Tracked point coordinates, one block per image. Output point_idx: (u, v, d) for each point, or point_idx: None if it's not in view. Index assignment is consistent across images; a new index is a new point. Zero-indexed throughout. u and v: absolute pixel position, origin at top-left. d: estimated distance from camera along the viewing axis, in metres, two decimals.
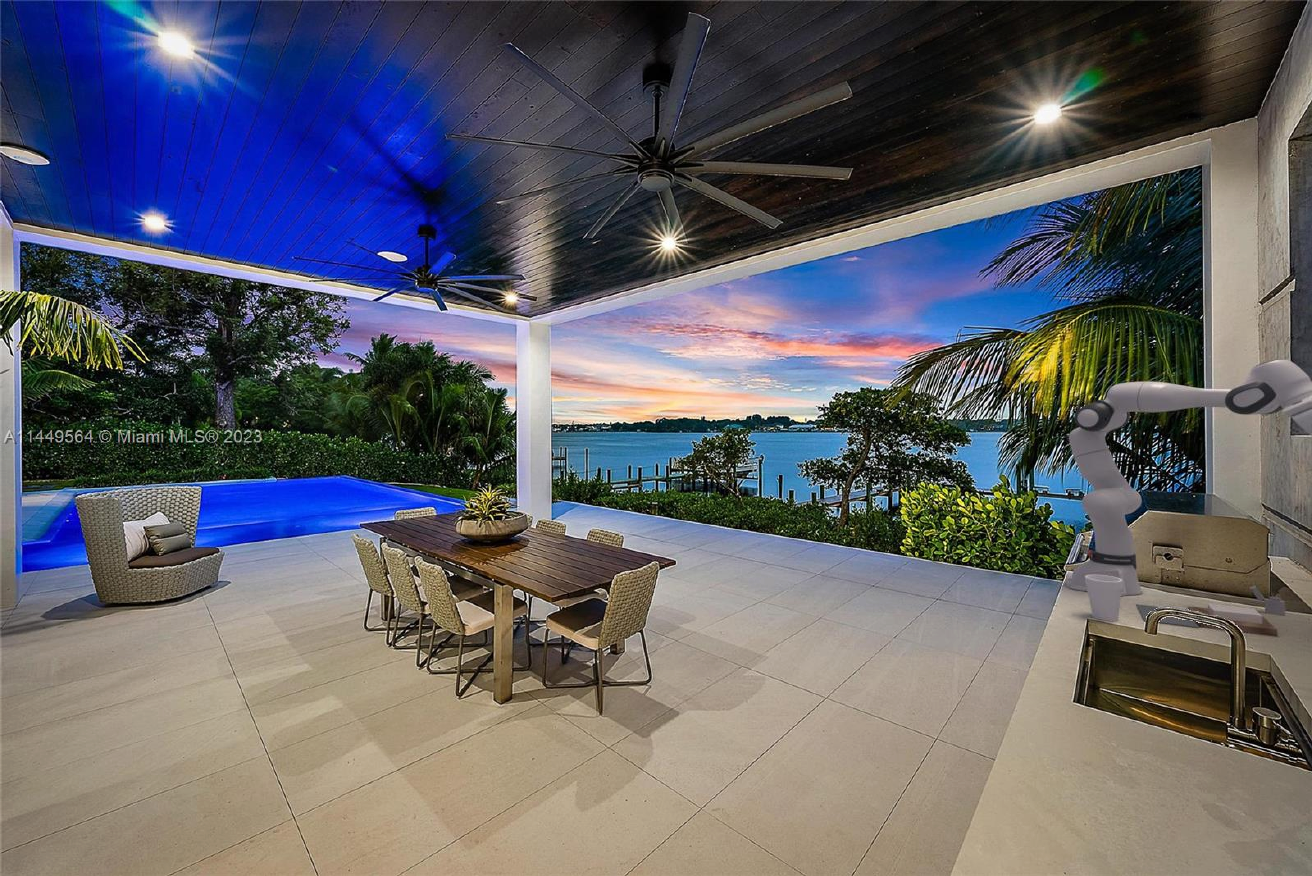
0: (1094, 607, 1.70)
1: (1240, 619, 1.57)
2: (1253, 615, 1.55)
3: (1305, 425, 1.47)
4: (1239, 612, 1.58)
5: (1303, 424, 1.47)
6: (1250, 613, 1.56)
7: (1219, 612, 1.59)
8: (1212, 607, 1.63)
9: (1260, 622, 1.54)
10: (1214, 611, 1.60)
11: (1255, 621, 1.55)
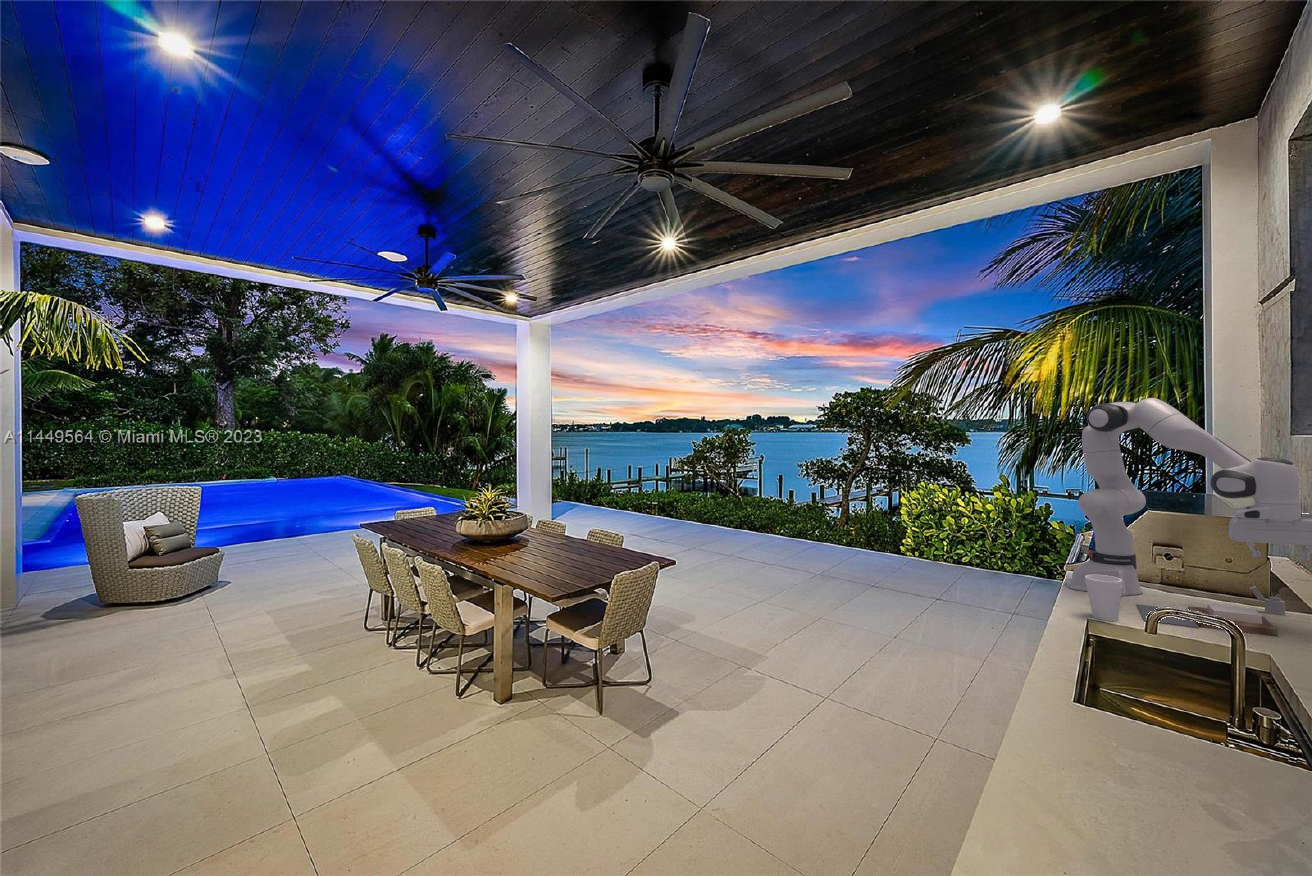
0: (1094, 607, 1.70)
1: (1240, 619, 1.57)
2: (1253, 615, 1.55)
3: (1229, 528, 1.61)
4: (1239, 612, 1.58)
5: (1229, 527, 1.61)
6: (1250, 613, 1.56)
7: (1219, 612, 1.59)
8: (1212, 607, 1.63)
9: (1260, 622, 1.54)
10: (1214, 611, 1.60)
11: (1255, 621, 1.55)
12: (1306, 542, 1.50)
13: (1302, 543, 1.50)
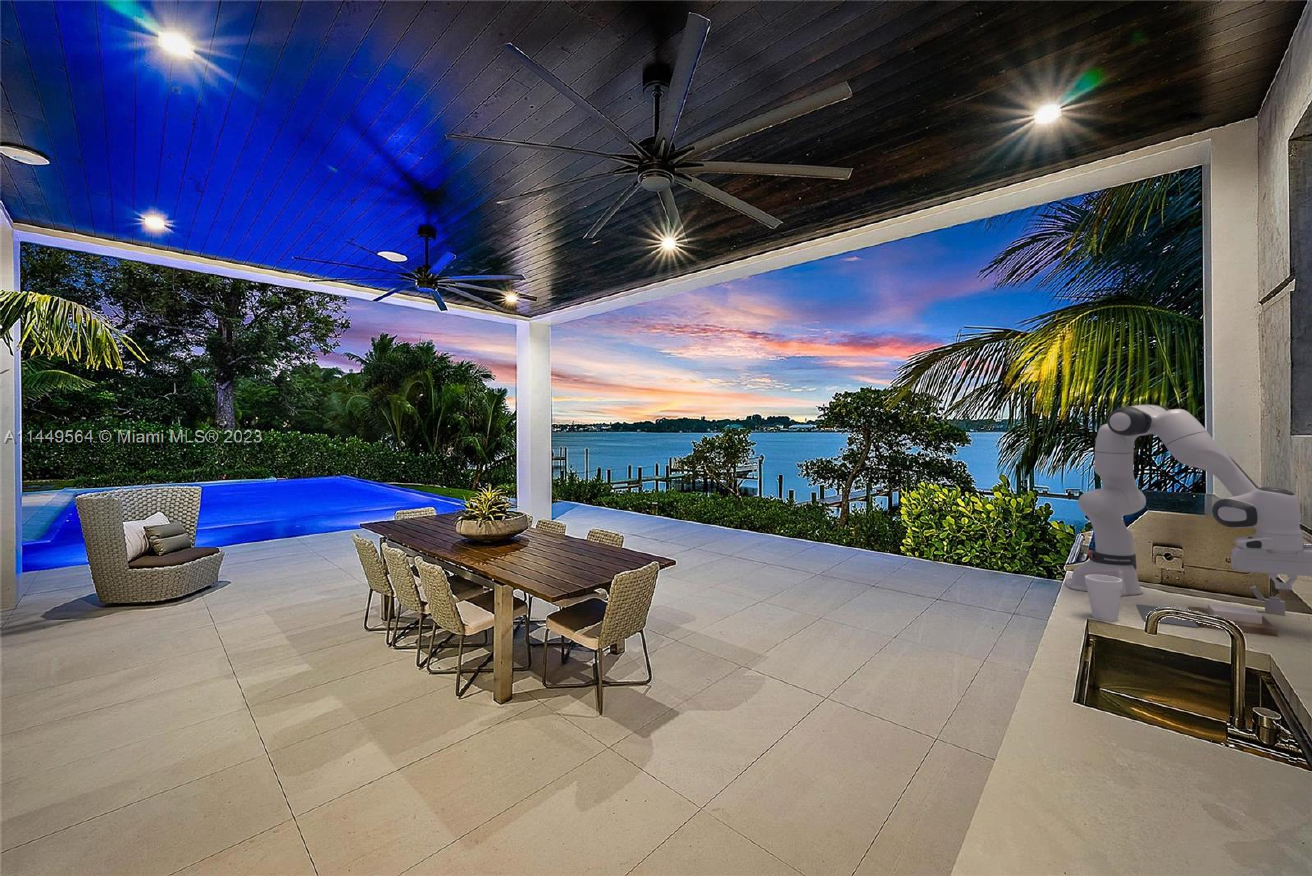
0: (1094, 607, 1.70)
1: (1240, 619, 1.57)
2: (1253, 615, 1.55)
3: (1231, 558, 1.61)
4: (1239, 612, 1.58)
5: (1231, 556, 1.61)
6: (1250, 613, 1.56)
7: (1219, 612, 1.59)
8: (1212, 607, 1.63)
9: (1260, 622, 1.54)
10: (1214, 611, 1.60)
11: (1255, 621, 1.55)
12: (1309, 573, 1.49)
13: (1305, 574, 1.50)
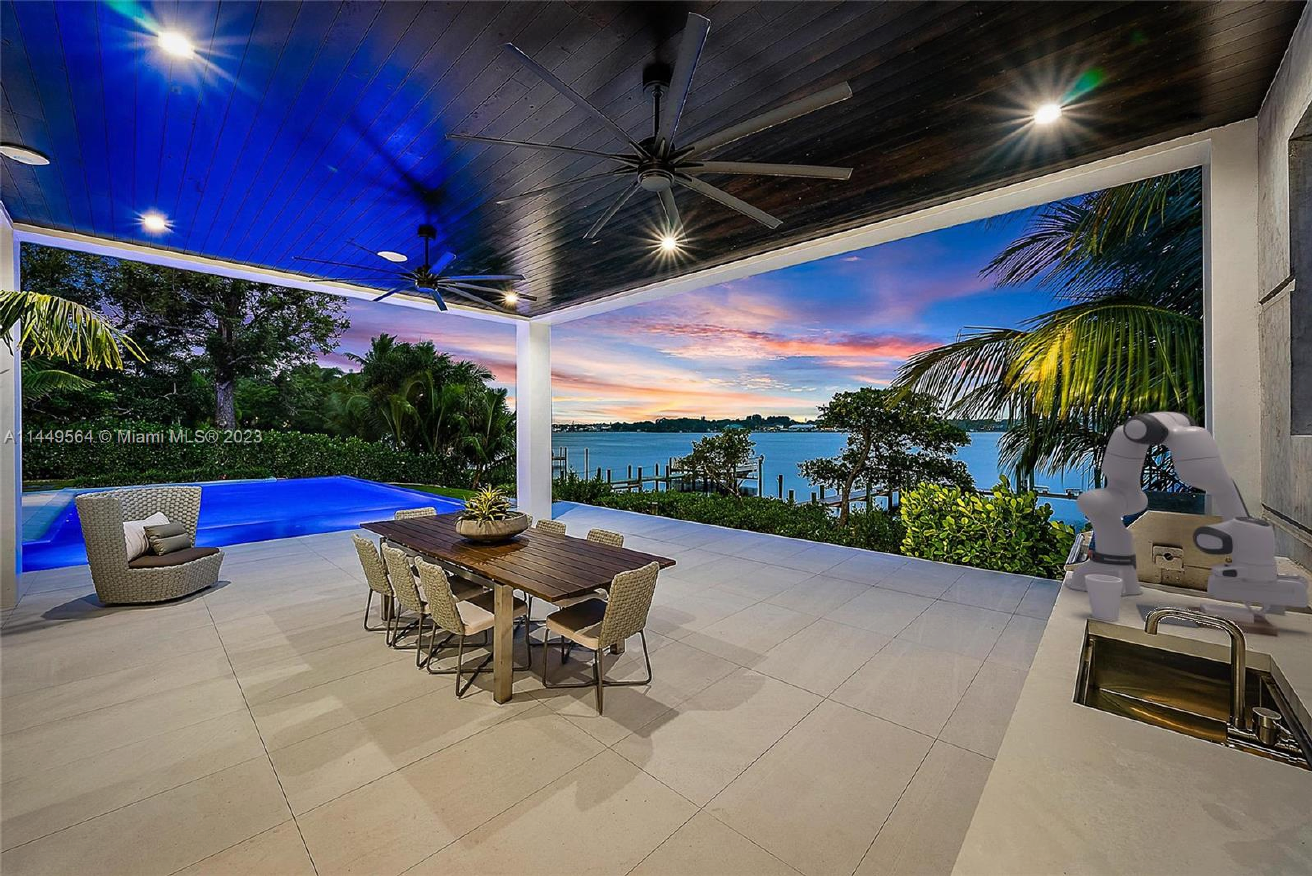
0: (1094, 607, 1.70)
1: (1232, 618, 1.58)
2: (1245, 614, 1.56)
3: (1208, 584, 1.64)
4: (1231, 611, 1.59)
5: (1208, 583, 1.64)
6: (1242, 612, 1.57)
7: (1211, 611, 1.60)
8: (1204, 606, 1.64)
9: (1252, 621, 1.55)
10: (1206, 610, 1.61)
11: (1247, 620, 1.56)
12: (1282, 602, 1.53)
13: (1278, 603, 1.53)
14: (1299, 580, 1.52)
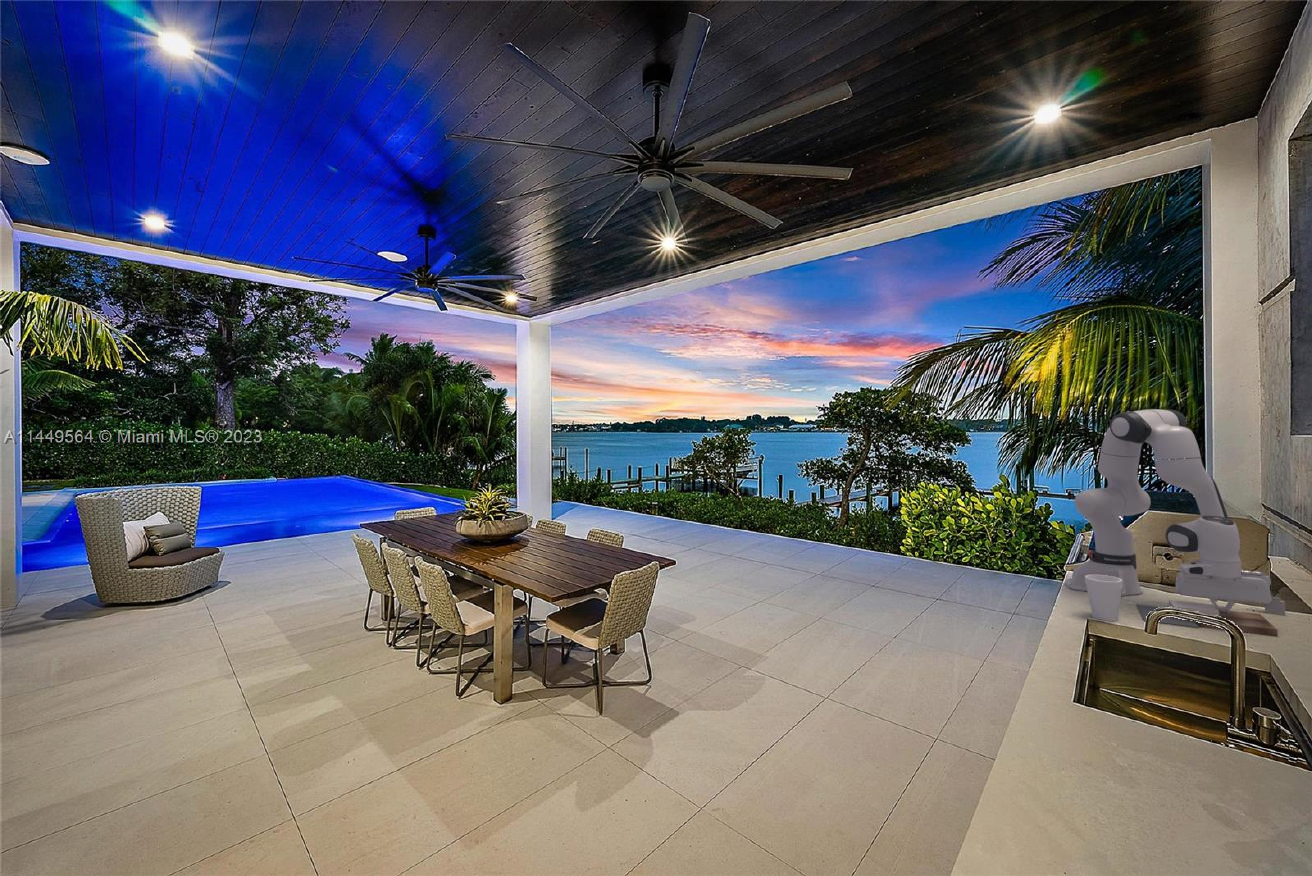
0: (1094, 607, 1.70)
1: None
2: (1211, 610, 1.61)
3: (1176, 582, 1.68)
4: (1198, 608, 1.63)
5: (1176, 580, 1.68)
6: (1208, 608, 1.62)
7: None
8: (1173, 603, 1.68)
9: None
10: None
11: None
12: (1245, 599, 1.57)
13: (1242, 600, 1.58)
14: (1262, 577, 1.56)
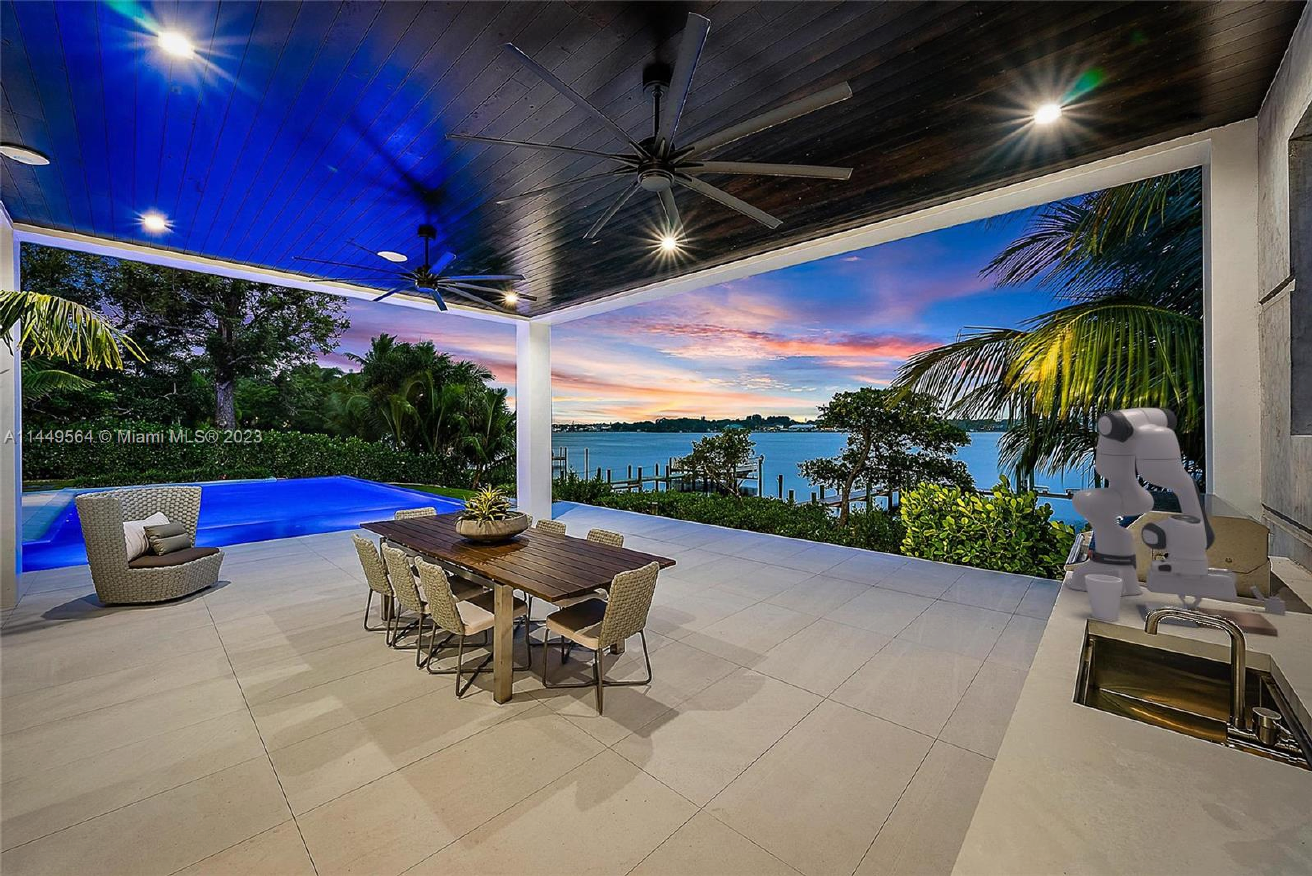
0: (1094, 607, 1.70)
1: (1172, 617, 1.66)
2: None
3: (1146, 579, 1.73)
4: None
5: (1146, 578, 1.73)
6: None
7: None
8: (1148, 605, 1.71)
9: None
10: (1149, 609, 1.69)
11: None
12: (1212, 595, 1.62)
13: (1208, 596, 1.62)
14: (1228, 574, 1.60)
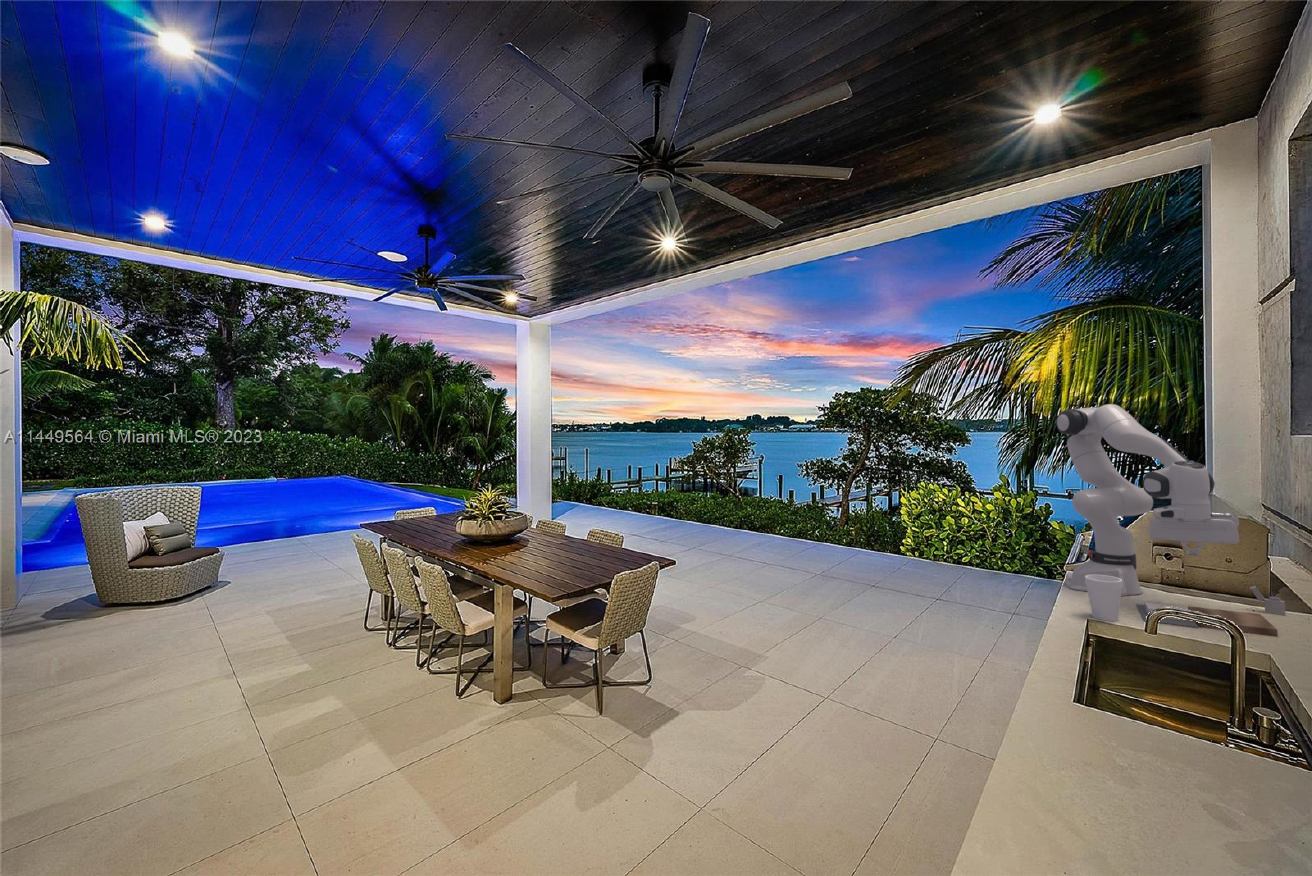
0: (1094, 607, 1.70)
1: (1172, 617, 1.66)
2: None
3: (1149, 526, 1.73)
4: None
5: (1149, 525, 1.73)
6: None
7: None
8: (1148, 605, 1.71)
9: None
10: (1149, 609, 1.69)
11: None
12: (1214, 540, 1.62)
13: (1211, 541, 1.63)
14: (1231, 518, 1.61)
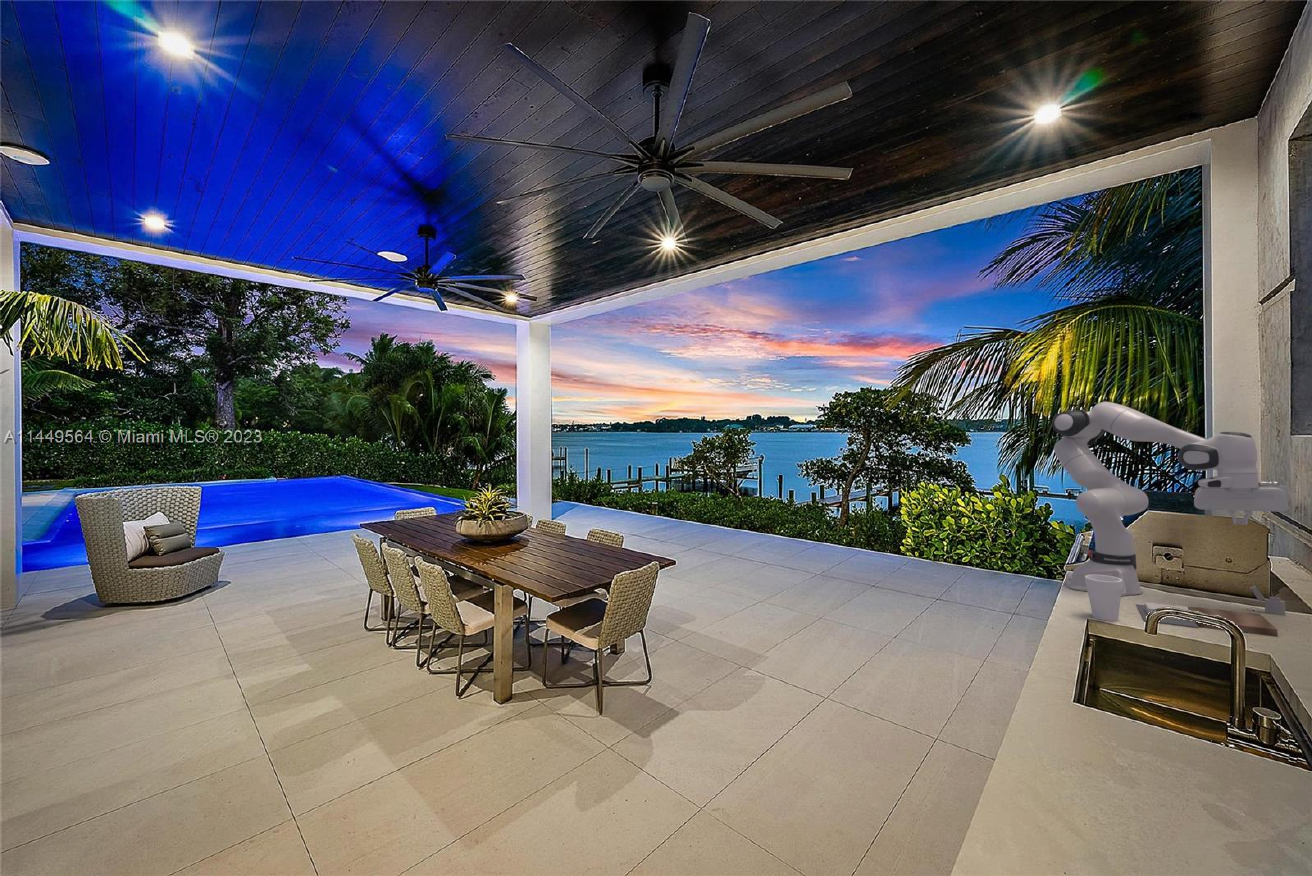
0: (1094, 607, 1.70)
1: (1172, 617, 1.66)
2: None
3: (1194, 498, 1.74)
4: None
5: (1194, 496, 1.74)
6: None
7: None
8: (1148, 605, 1.71)
9: None
10: (1149, 609, 1.69)
11: None
12: (1263, 508, 1.63)
13: (1259, 509, 1.64)
14: (1279, 487, 1.62)
